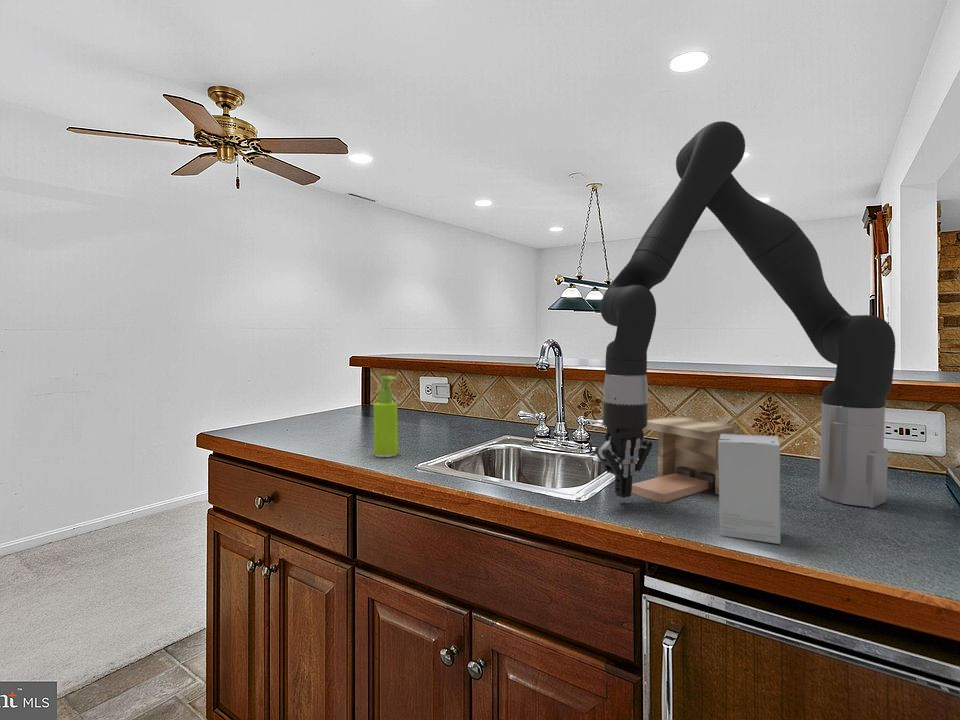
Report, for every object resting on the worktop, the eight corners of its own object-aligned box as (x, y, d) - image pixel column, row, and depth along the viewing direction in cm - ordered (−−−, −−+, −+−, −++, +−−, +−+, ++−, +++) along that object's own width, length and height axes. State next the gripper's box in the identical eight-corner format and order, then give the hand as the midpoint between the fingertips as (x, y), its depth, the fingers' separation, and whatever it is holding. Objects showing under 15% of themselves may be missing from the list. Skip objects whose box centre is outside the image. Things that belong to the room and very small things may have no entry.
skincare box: (779, 532, 78) (781, 435, 77) (780, 547, 73) (783, 443, 72) (718, 522, 82) (720, 431, 81) (716, 536, 77) (717, 438, 76)
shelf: (738, 489, 99) (740, 425, 98) (705, 500, 93) (707, 432, 92) (675, 473, 111) (676, 415, 110) (642, 481, 104) (642, 421, 104)
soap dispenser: (384, 460, 124) (382, 377, 123) (370, 454, 129) (368, 375, 128) (404, 456, 128) (403, 376, 127) (390, 451, 133) (389, 374, 132)
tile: (708, 491, 100) (708, 481, 100) (663, 505, 92) (663, 494, 92) (674, 482, 106) (675, 472, 106) (629, 494, 98) (630, 484, 98)
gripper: (616, 405, 84) (614, 509, 85) (667, 399, 91) (664, 495, 92) (583, 400, 90) (581, 497, 91) (633, 395, 97) (631, 484, 98)
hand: (623, 496), depth 92 cm, fingers closed
